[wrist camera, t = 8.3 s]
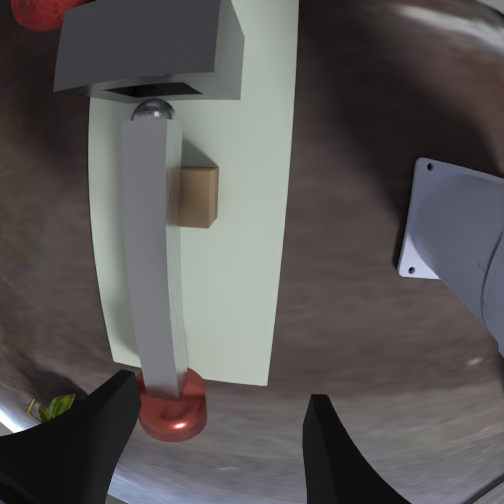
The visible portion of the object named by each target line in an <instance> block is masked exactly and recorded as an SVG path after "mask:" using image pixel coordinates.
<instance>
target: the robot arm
mask: <svg viewBox="0 0 504 504" xmlns="http://www.w3.org/2000/svg"><path fill="white" fill-rule="evenodd" d="M429 163H430V164H431V169H430V170H428V169H427V165H428V164H429ZM410 267H413V269H412V271H411V272H408V270H409V268H410ZM397 271H398V273H399V274H400V275H401V276H403V277H417V278H431V279H441V280H442V281H443V282H444V283H445V284H446V285H447V286H448V287H449V288H450V289H451V290H452V291H453V293H454V294H455V295H456V296H457V297H458V298H459V299H460V300H461V301H462V302H463V303H464V304H465V305H466V306H467V307H468V308H469V309H470V311H471V312H472V313H473V314H474V315H475V316H476V317H477V318H478V319H479V320H480V322H481V323H482V324H483V325H484V326H485V327H486V328H487V329H488V330H489V332H490V333H491V334H492V335H493V337H494V338H495V339H496V340H497V341H498V344H499V348H498V351H499V352H500V353H501V355H502V356H503V357H504V179H502V178H499V177H496V176H493V175H489V174H486V173H483V172H479V171H475V170H472V169H468V168H464V167H461V166H457V165H453V164H449V163H445V162H440V161H436V160H432V159H427V158H418V159H417V160H416V163H415V169H414V178H413V185H412V192H411V199H410V205H409V211H408V217H407V223H406V228H405V234H404V239H403V244H402V249H401V253H400V258H399V262H398V267H397ZM141 406H142V402H141V398H140V394H139V390H138V386H137V381H136V377H135V373H134V372H131V371H127V370H123V369H121V370H120V371H119V372H117V373H116V374H115V375H114V376H112V377H111V378H110V379H109V380H107V381H106V382H105V383H104V384H102V385H101V386H100V387H99V388H97V389H96V390H95V391H94V392H92V393H91V394H90V395H88V396H87V397H86V398H84V399H83V400H81V401H80V402H79V403H77V404H76V405H74V406H73V407H71V408H70V409H68V410H67V411H65V412H63V413H62V414H60V415H58V416H56V417H54V418H52V419H50V420H48V421H46V422H44V423H41V424H39V425H37V426H34V427H32V428H29V429H26V430H24V431H20V432H17V433H13V434H10V435H5V436H0V504H105V500H106V496H107V492H108V489H109V485H110V482H111V479H112V476H113V473H114V469H115V467H116V465H117V462H118V460H119V458H120V456H121V454H122V452H123V450H124V447H125V445H126V443H127V441H128V439H129V437H130V435H131V433H132V431H133V429H134V427H135V424H136V422H137V419H138V416H139V413H140V409H141ZM302 447H303V457H304V467H305V476H306V486H307V504H411V503H410V502H409V501H407V500H406V499H405V498H403V497H402V496H401V495H400V494H398V493H397V492H396V491H395V490H394V489H393V488H392V487H391V486H390V485H389V484H387V483H386V482H385V481H384V480H383V479H382V478H381V477H380V476H379V475H378V474H377V472H376V471H375V470H374V469H373V468H372V467H371V466H370V464H369V463H368V462H367V461H366V459H365V458H364V457H363V456H362V454H361V453H360V451H359V450H358V449H357V447H356V446H355V444H354V443H353V441H352V440H351V438H350V436H349V435H348V433H347V431H346V430H345V428H344V426H343V425H342V423H341V421H340V419H339V417H338V415H337V414H336V412H335V410H334V408H333V405H332V403H331V401H330V399H329V397H328V396H327V395H323V394H311V398H310V401H309V405H308V409H307V412H306V416H305V419H304V423H303V446H302Z"/></svg>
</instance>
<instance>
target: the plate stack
mask: <svg viewBox="0 0 504 504" xmlns="http://www.w3.org/2000/svg"><path fill="white" fill-rule="evenodd" d="M473 504H504V482H503V483H501V484H500V485H498V486H497V487H495V488H494V489H492V490H491V491H490V492H488V493H487V494H485V495H484V496H482V497H481V498H480V499H478V500H477V501H476V502H474V503H473Z"/></svg>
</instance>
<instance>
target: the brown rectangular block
mask: <svg viewBox="0 0 504 504" xmlns="http://www.w3.org/2000/svg"><path fill="white" fill-rule="evenodd" d="M218 185H219V167H197V166H181V196H180V227H191V228H205V229H209V227H210V226H211V225H212V224H213V222H214V221H215V220H216V219H217V213H218Z"/></svg>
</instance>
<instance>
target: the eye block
mask: <svg viewBox="0 0 504 504" xmlns="http://www.w3.org/2000/svg"><path fill="white" fill-rule="evenodd" d="M244 41H245V37H244V34H243V31H242V28H241V26H240V23H239V20H238V17H237V15H236V12H235V9H234V7H233V4H232V1H231V0H97V1H94V2H90V3H87V4H84V5H81V6H78V7H75V8H72V9H69V10H66V11H65V16H64V20H63V25H62V30H61V36H60V41H59V47H58V54H57V61H56V68H55V77H54V87H53V92H54V93H63V94H71V95H78V96H85V97H92V98H98V99H105V100H110V101H116V102H122V103H127V104H131V103H142V102H144V101H146V100H149V99H162V100H164V101H175V100H240V99H241V84H242V69H243V55H244Z"/></svg>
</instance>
